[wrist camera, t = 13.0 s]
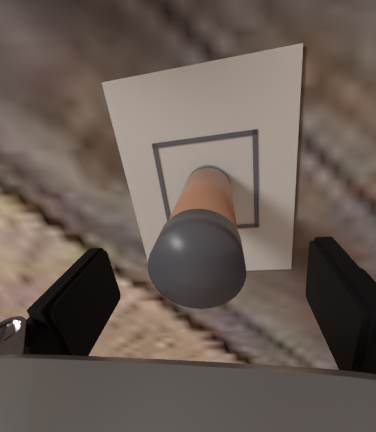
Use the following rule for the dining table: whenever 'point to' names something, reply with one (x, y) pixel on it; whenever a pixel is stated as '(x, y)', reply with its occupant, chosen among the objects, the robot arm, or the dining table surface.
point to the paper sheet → (216, 143)
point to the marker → (200, 244)
